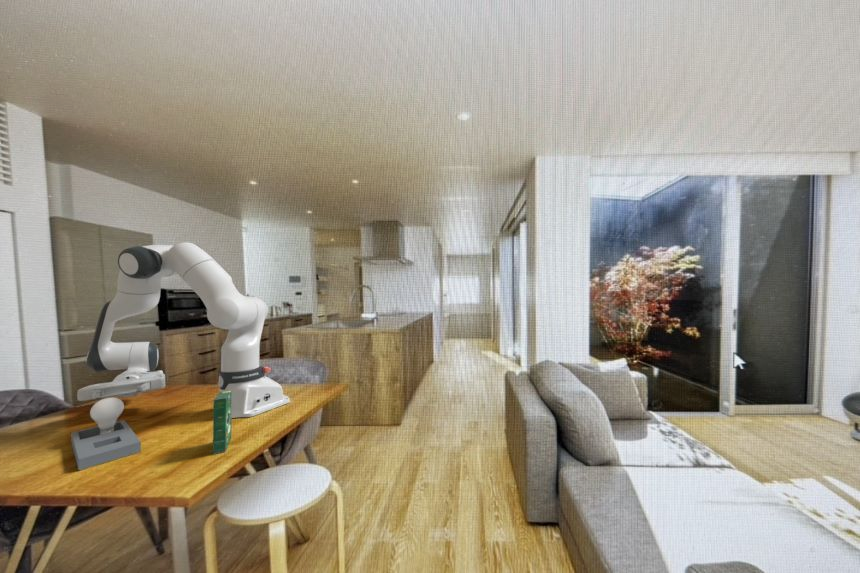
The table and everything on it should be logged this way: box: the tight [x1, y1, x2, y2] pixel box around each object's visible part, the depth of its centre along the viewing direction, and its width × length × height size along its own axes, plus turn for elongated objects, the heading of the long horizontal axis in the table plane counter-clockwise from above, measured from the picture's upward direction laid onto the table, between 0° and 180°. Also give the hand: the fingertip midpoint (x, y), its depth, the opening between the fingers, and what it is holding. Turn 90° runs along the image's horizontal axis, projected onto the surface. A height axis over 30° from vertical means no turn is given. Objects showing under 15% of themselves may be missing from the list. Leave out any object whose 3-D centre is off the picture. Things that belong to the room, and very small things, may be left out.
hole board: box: [70, 419, 142, 471], centre depth 77 cm, size 10×24×2 cm, turn 53°
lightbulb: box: [89, 396, 125, 435], centre depth 82 cm, size 6×6×11 cm
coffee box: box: [212, 391, 232, 455], centre depth 76 cm, size 8×3×13 cm, turn 25°
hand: (118, 392), depth 92 cm, fingers open, 8 cm apart
